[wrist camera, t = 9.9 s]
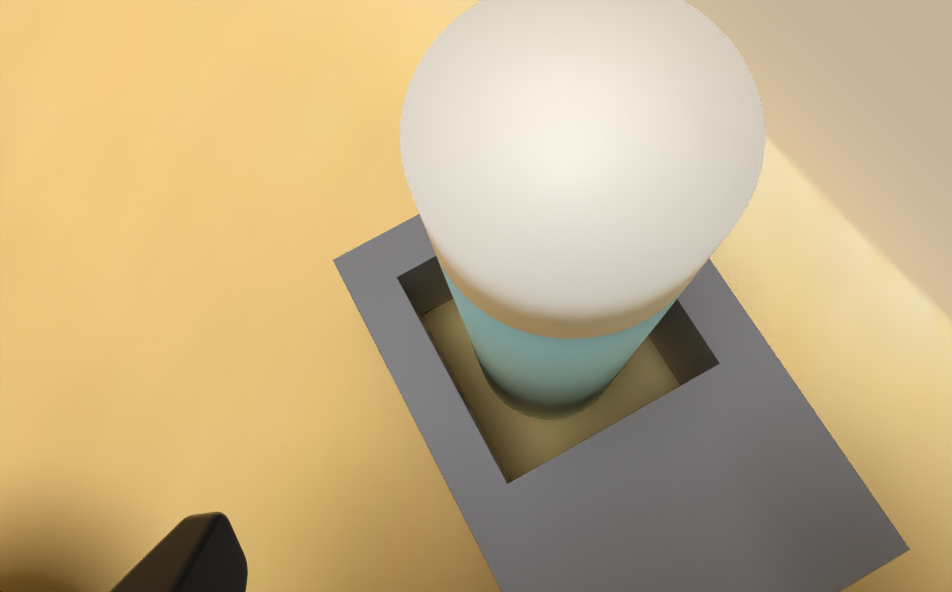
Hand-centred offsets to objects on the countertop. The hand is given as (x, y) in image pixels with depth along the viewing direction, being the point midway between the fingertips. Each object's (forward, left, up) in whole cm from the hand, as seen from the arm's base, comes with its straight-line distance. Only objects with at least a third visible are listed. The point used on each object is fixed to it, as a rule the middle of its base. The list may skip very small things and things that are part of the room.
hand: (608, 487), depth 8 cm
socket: (+1, -2, -11) cm, 12 cm away
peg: (+3, -2, -11) cm, 12 cm away
